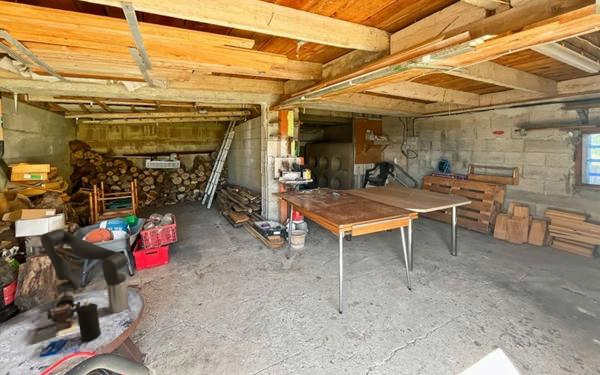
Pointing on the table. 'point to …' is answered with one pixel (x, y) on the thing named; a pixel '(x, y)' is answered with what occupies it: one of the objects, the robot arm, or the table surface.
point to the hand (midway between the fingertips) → (62, 318)
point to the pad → (73, 328)
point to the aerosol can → (88, 322)
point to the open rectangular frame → (45, 336)
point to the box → (62, 317)
